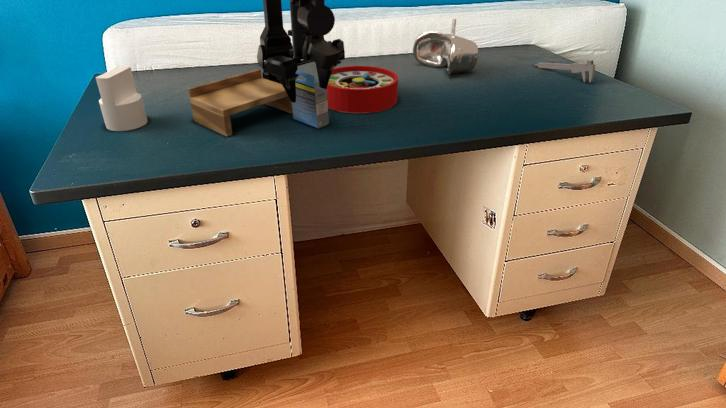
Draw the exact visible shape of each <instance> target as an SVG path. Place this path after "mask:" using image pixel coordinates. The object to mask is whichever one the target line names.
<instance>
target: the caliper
mask: <svg viewBox="0 0 726 408" xmlns="http://www.w3.org/2000/svg"><path fill="white" fill-rule="evenodd" d="M534 66H535V67H537V68H538V69H551V70H552V69H553V70H564V71H565V70H567V71H571V74H579V73H580V74H581V76H582V81H583V83H587V82H588V83H593V81H594V78H595V75H596V64H595V63H594V59H593V60H590V59H587V60H586V63H582V62H581V63H580V62H572V63H556V62H541V61H540V62H537V63H536V64H534Z"/></svg>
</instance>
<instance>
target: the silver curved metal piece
mask: <svg viewBox="0 0 726 408" xmlns="http://www.w3.org/2000/svg"><path fill="white" fill-rule="evenodd" d="M456 26H457V19H456V18H452V21H451V29H450V30H451V31H450V32H451V33H443V32H440V31H436V30H427V31H424V32H422V33H420V34H418V36H417V37H416V38H415V40H414V42H413V45H412V54H413V58H414V59H415V60H416V61H417V63H419V64H421V65H422V66H426V67H430V68H446V73H447V74H448V75H449V76H451V75H453V74H459V73H465V72H471V71H473V70H474V69H475V68H476V65H477V62H478V56H479V48H478V47H479V46H478V45H477V43H476V42H475V41H473V40H470V39H467V38H465V37H461V36H458V35H456Z"/></svg>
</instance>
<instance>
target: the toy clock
mask: <svg viewBox="0 0 726 408" xmlns="http://www.w3.org/2000/svg"><path fill="white" fill-rule="evenodd" d="M326 90H327V101H328V110H332V111H335V112H339V113H347V114H372V113H378V112H382V111H386V110H388V109H391V108H392V107H394V106H395V105H396V104H397V103H398V98H399V97H398V95H399V94H398V93H399V76H398V74H397V73H396V72H394V71H392V70H390V69H387V68H384V67H379V66H371V65H346V66H345V65H344V66H339V67H335V68H334V69H333V71H332V73H331V76H330V79H329V82H328V86H327V89H326Z"/></svg>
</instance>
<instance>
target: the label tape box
mask: <svg viewBox="0 0 726 408" xmlns="http://www.w3.org/2000/svg"><path fill="white" fill-rule="evenodd" d="M295 74H299V76H298V77H302V78H303V79H305V80H303V79H301V78H298V77H297V79H296V80H295V84H296V102H295V103H293V102H292V111H293V113H292V118H293V120H295V121H296V122H300V123H303V124H306V125H308V126H311V127H313V128H316V129H320V128H323V127H326V126H328V125H329V124H330V119H329V118H330V116H329V108H328V101H327V90H326V89H323V88H320V86H317V85H315V84H316V83H315V80H316V77H315V75H313V74H309V73H307V72H304V71H300V70H297V71H296V73H295Z"/></svg>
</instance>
